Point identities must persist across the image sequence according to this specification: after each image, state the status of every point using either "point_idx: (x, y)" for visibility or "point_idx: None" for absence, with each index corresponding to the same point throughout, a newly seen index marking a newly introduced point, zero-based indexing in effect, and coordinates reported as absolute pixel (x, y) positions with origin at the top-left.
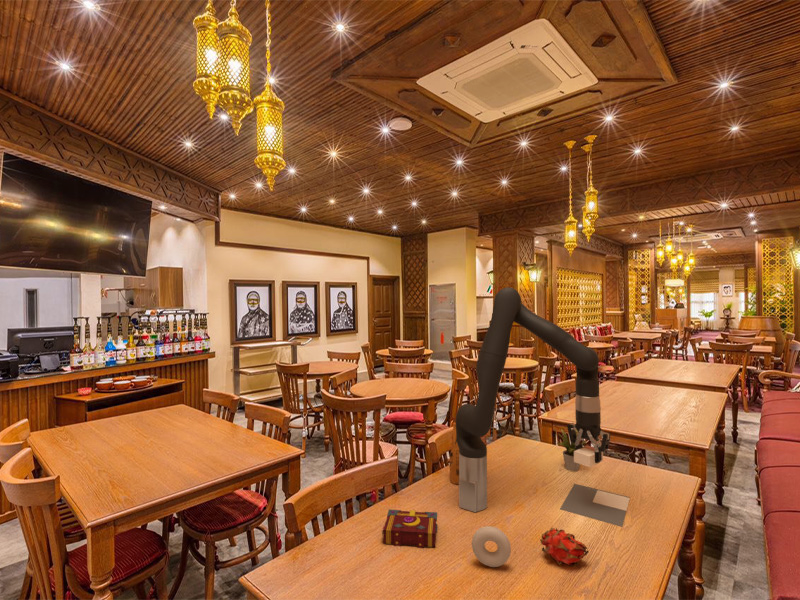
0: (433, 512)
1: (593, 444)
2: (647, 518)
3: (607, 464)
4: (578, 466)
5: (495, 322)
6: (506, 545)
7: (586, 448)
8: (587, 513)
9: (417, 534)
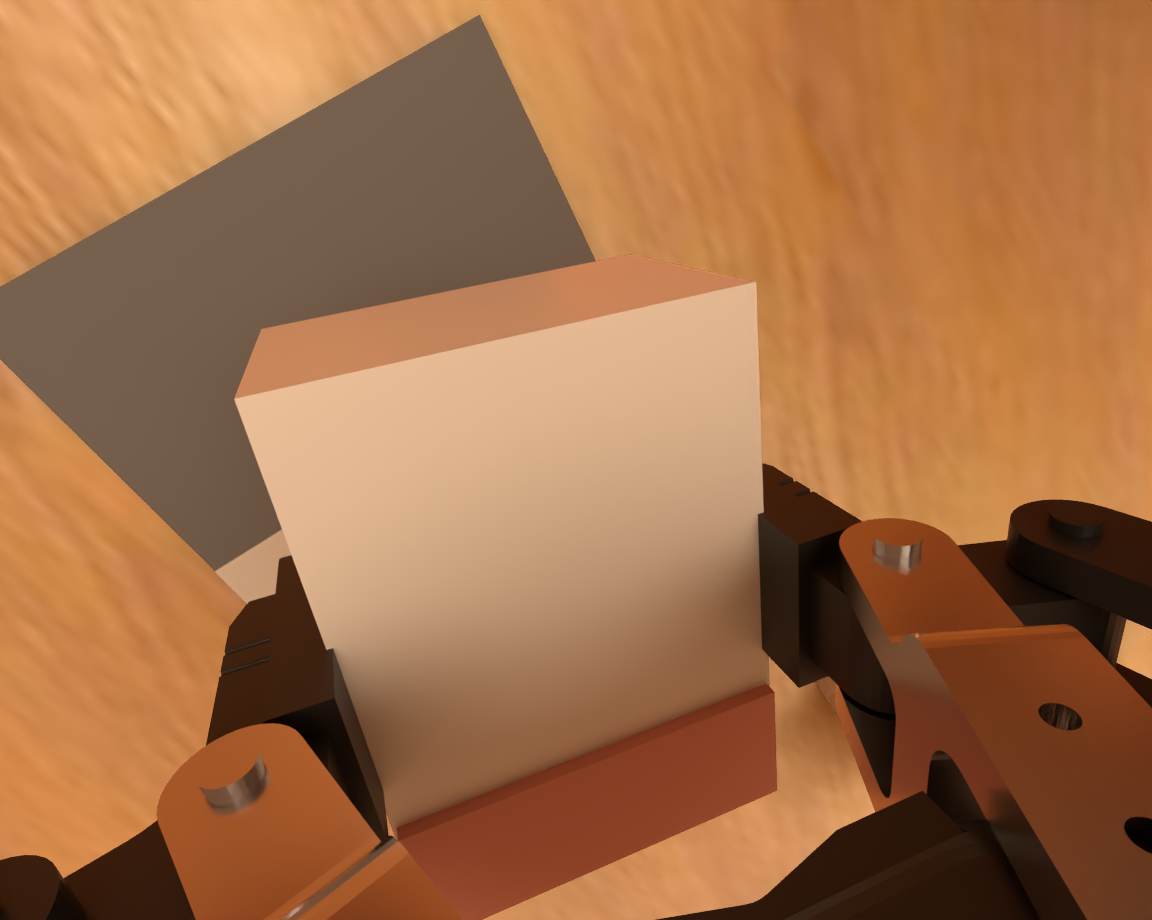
0: None
1: (332, 882)
2: (78, 648)
3: (762, 873)
4: (832, 695)
5: None
6: None
7: (689, 694)
8: (304, 211)
9: None
